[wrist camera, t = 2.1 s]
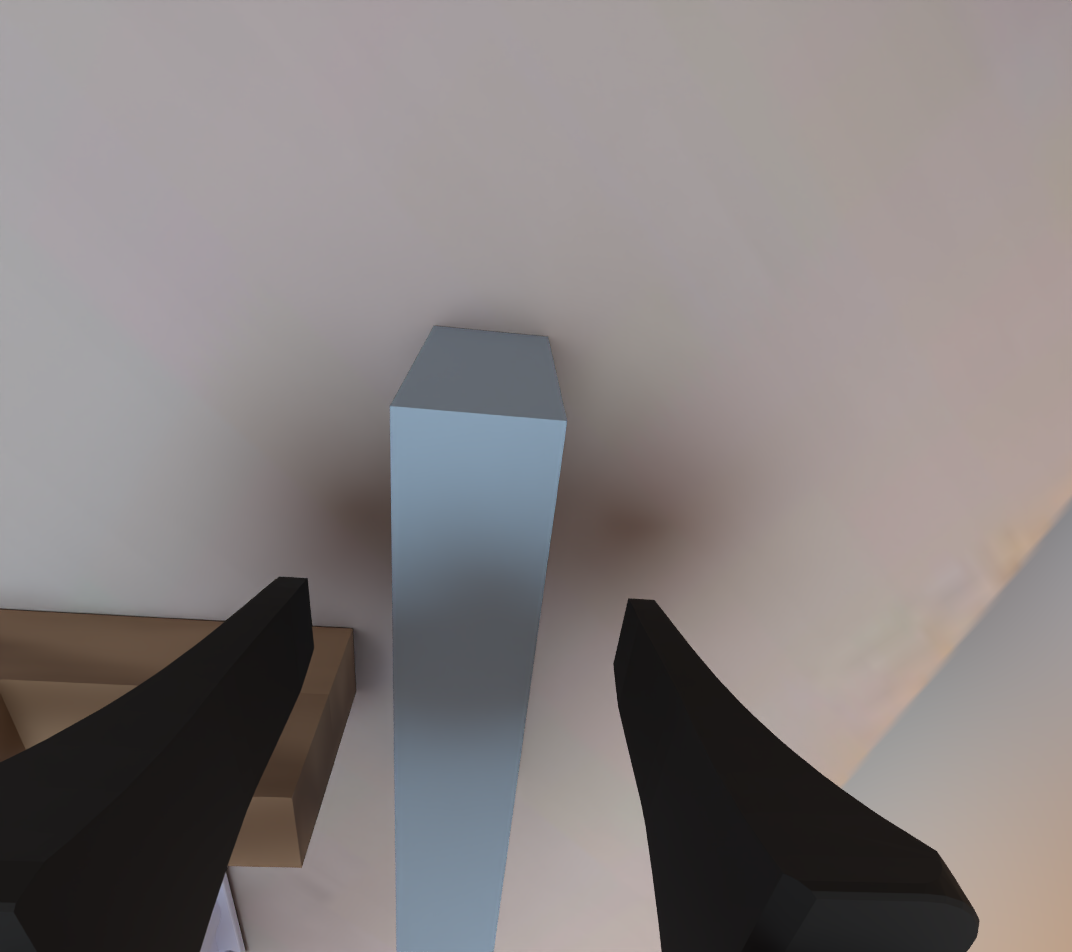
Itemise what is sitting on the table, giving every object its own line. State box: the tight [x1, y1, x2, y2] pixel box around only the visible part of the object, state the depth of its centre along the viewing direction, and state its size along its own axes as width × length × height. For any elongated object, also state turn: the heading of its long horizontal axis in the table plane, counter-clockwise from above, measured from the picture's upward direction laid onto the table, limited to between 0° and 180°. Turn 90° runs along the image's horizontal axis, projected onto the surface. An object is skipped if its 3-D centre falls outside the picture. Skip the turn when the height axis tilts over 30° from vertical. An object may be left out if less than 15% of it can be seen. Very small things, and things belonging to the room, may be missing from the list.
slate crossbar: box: [390, 326, 567, 952], centre depth 16 cm, size 18×3×6 cm, turn 174°
